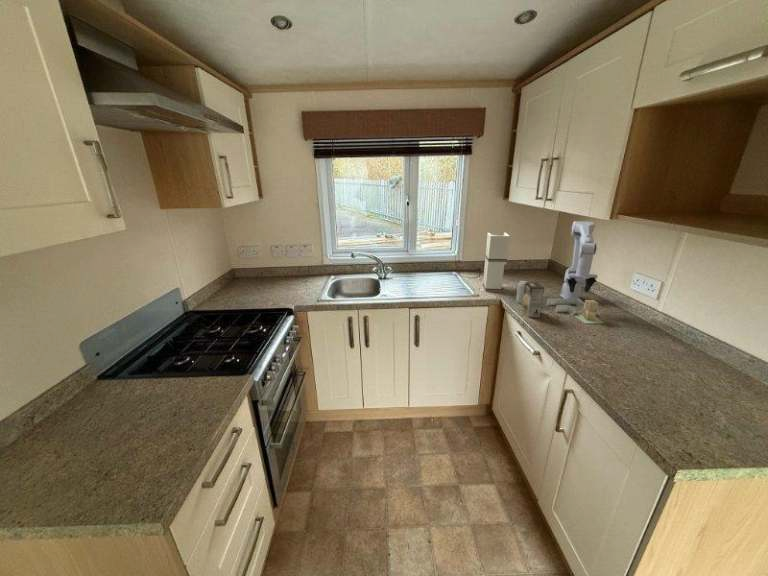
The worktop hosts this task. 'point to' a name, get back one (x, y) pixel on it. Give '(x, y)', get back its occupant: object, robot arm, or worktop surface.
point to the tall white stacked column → (495, 262)
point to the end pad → (589, 320)
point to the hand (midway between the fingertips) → (578, 291)
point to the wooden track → (566, 304)
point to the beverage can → (520, 292)
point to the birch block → (590, 310)
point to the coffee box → (532, 299)
